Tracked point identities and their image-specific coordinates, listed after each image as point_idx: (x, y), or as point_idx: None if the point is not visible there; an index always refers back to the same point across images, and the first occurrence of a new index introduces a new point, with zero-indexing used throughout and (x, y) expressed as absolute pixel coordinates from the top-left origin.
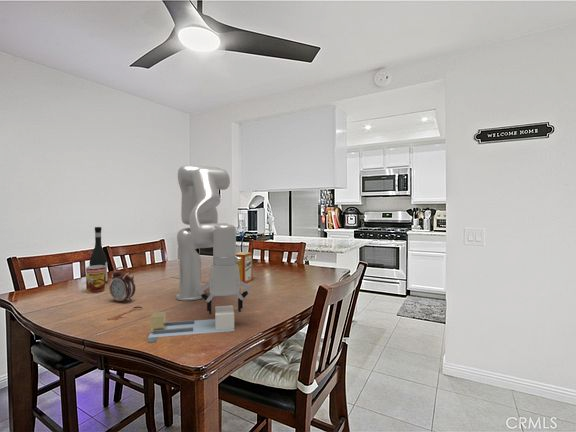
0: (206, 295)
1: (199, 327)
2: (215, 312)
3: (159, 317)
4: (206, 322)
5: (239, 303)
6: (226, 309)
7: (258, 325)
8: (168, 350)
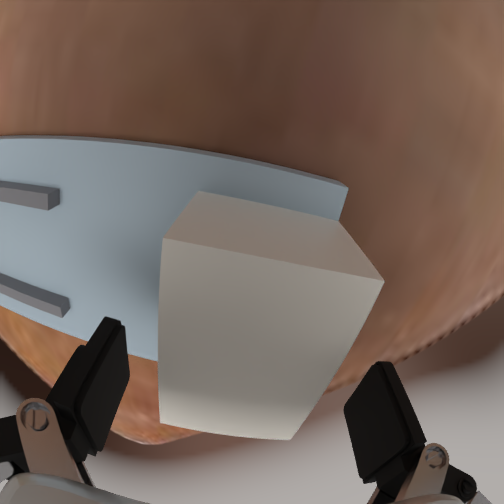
0: (21, 464)
1: (91, 276)
2: (159, 391)
3: None
4: (129, 206)
5: (361, 462)
6: (268, 374)
7: (429, 297)
8: (42, 358)
